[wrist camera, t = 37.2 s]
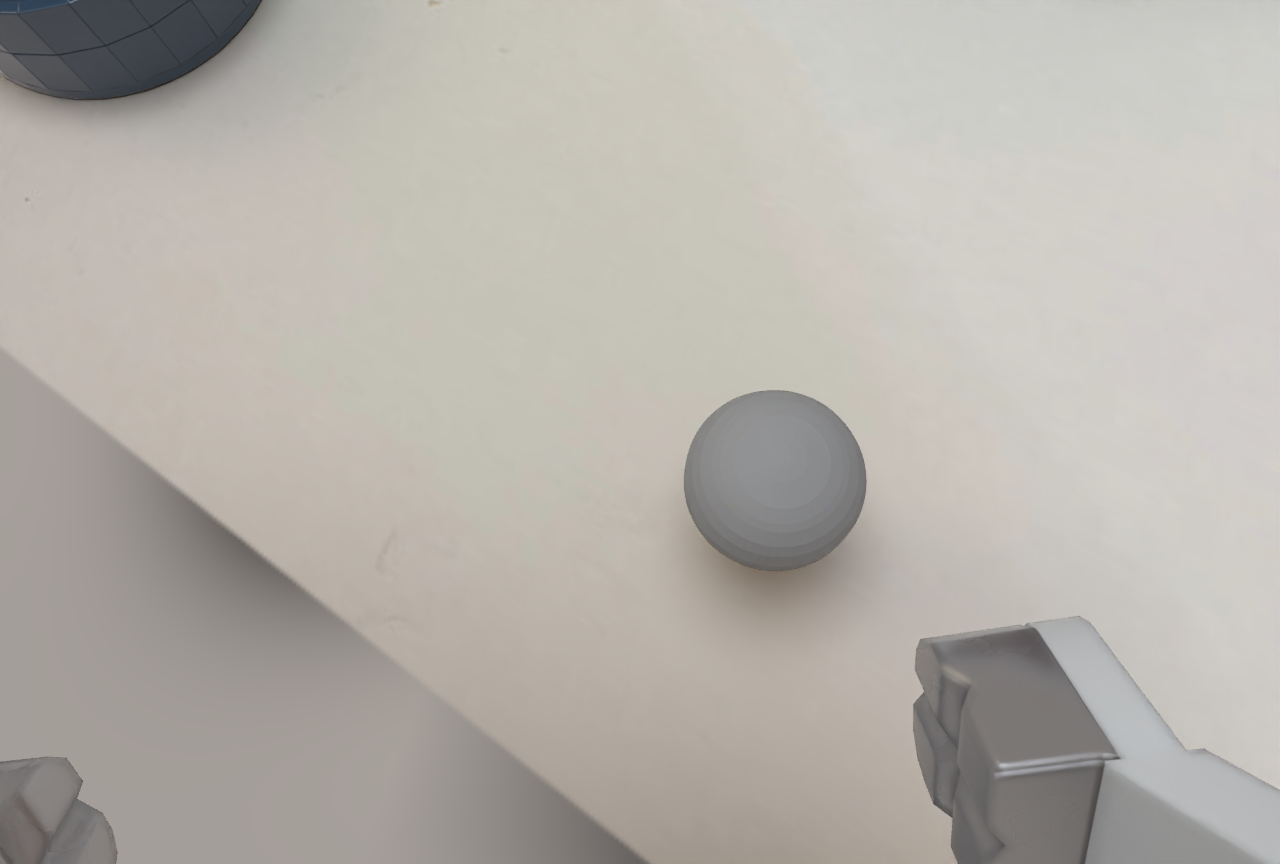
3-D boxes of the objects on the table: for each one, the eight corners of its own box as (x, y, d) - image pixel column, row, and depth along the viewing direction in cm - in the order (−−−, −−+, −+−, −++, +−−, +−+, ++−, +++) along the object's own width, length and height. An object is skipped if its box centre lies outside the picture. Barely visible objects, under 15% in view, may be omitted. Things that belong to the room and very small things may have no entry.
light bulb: (727, 425, 36) (747, 331, 26) (851, 496, 35) (918, 426, 25) (655, 544, 35) (648, 490, 25) (781, 620, 34) (823, 596, 24)
